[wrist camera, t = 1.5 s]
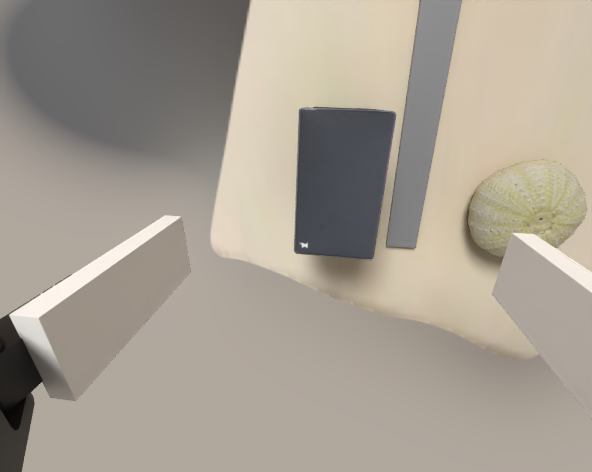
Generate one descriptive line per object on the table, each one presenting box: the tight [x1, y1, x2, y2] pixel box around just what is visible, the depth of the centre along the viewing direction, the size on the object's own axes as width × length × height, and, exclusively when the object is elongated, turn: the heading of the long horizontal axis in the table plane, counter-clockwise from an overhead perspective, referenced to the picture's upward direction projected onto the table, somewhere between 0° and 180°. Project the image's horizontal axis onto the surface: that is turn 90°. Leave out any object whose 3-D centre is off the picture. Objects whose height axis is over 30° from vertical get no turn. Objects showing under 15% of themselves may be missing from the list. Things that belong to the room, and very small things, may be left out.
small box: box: [294, 107, 396, 260], centre depth 25 cm, size 11×6×10 cm, turn 178°
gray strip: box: [386, 0, 462, 248], centre depth 27 cm, size 3×23×1 cm, turn 0°
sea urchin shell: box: [468, 159, 587, 257], centre depth 27 cm, size 9×8×8 cm
